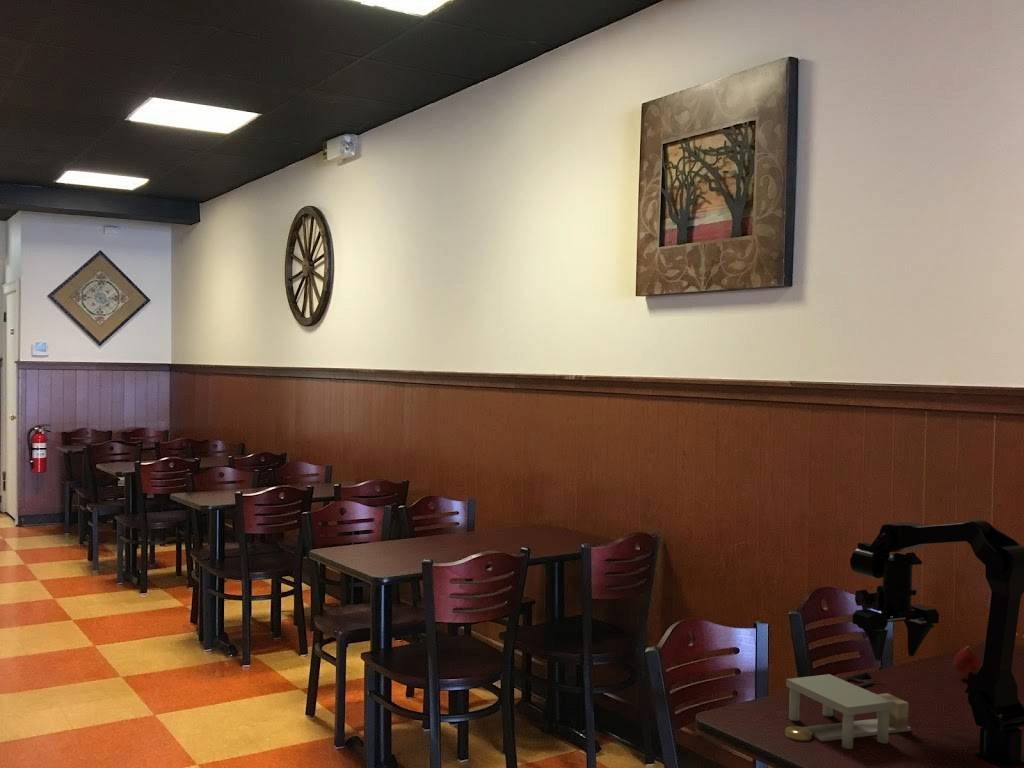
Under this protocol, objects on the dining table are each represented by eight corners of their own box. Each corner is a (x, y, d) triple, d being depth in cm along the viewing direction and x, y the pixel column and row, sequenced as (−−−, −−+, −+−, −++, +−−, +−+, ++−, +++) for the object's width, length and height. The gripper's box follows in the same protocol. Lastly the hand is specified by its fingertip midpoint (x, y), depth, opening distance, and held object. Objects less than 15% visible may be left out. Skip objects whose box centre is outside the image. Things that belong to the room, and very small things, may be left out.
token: (817, 739, 189) (817, 733, 189) (799, 744, 186) (799, 737, 186) (798, 730, 193) (798, 724, 193) (779, 735, 191) (779, 729, 190)
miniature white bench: (892, 742, 187) (893, 701, 187) (846, 749, 183) (848, 707, 183) (828, 712, 204) (829, 674, 204) (785, 718, 200) (786, 679, 199)
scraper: (910, 732, 194) (911, 702, 194) (822, 743, 187) (823, 711, 187) (889, 722, 200) (890, 692, 200) (803, 731, 193) (804, 701, 193)
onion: (947, 677, 231) (948, 643, 231) (964, 674, 233) (965, 641, 233) (968, 684, 225) (969, 650, 225) (985, 681, 228) (986, 647, 228)
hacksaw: (865, 676, 231) (865, 670, 231) (903, 688, 222) (903, 682, 222) (796, 692, 218) (796, 685, 218) (834, 705, 209) (834, 698, 209)
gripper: (900, 572, 213) (898, 643, 213) (834, 577, 205) (832, 651, 205) (942, 583, 203) (939, 658, 203) (874, 589, 195) (871, 666, 195)
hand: (894, 658), depth 202 cm, fingers open, 9 cm apart
